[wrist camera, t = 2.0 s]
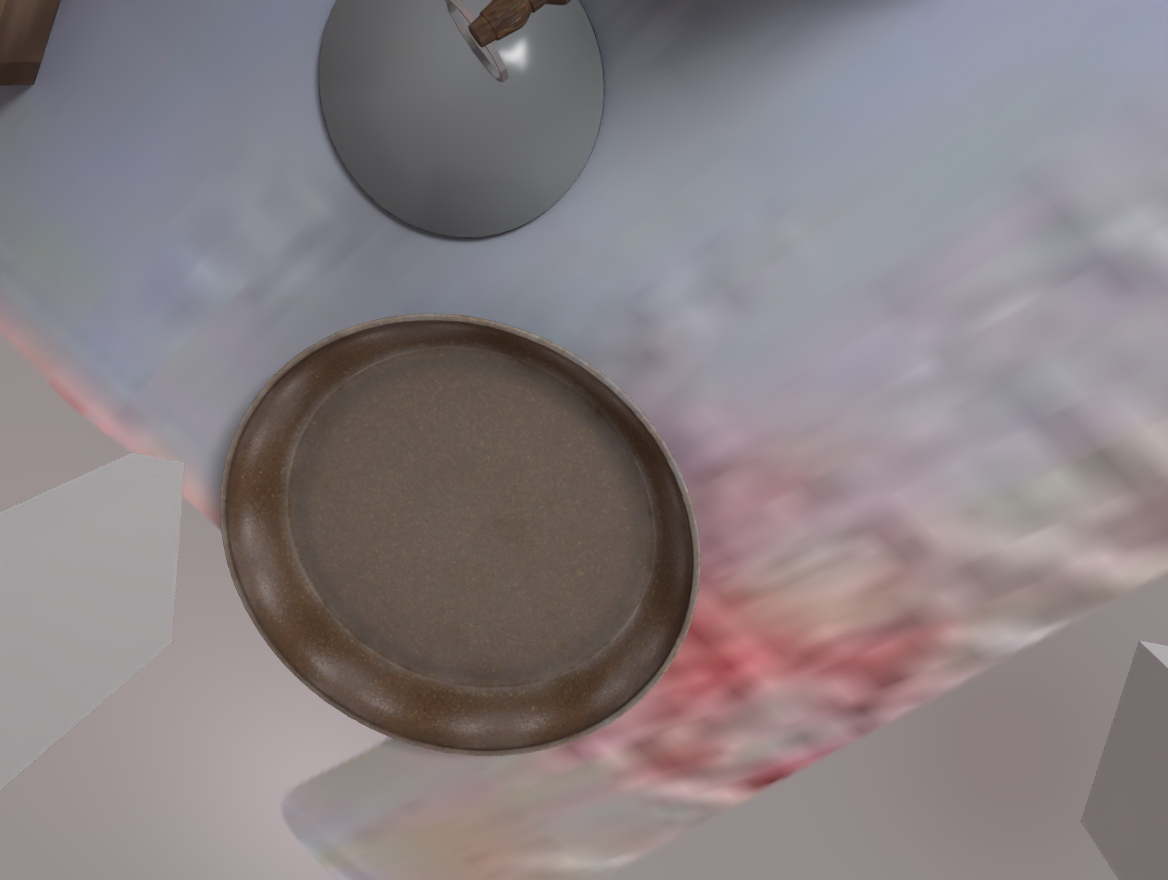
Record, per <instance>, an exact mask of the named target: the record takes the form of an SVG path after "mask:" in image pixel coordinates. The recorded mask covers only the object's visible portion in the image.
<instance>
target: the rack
mask: <svg viewBox="0 0 1168 880" xmlns="http://www.w3.org/2000/svg"><path fill="white" fill-rule="evenodd" d="M59 3H60V0H0V86H3V85H31V84H34V82H35V79H36V75H37V72H38V69H39V66H40V63H41V60H42V57H43V53H44V50H45V47H46V44H47V41H48V38H49V35H50V31H51V28H52V25H53V22H54V19H55V16H56V13H57V9H58V6H59Z"/></svg>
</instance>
